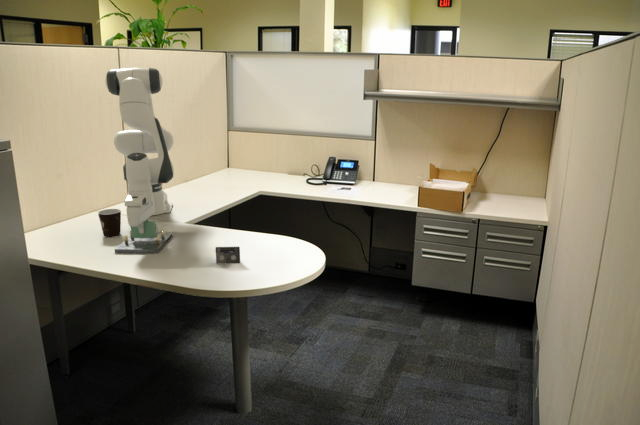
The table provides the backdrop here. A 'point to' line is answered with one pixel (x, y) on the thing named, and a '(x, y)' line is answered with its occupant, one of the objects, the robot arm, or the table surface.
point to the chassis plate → (144, 244)
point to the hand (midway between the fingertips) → (143, 231)
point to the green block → (149, 230)
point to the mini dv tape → (227, 255)
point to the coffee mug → (110, 222)
